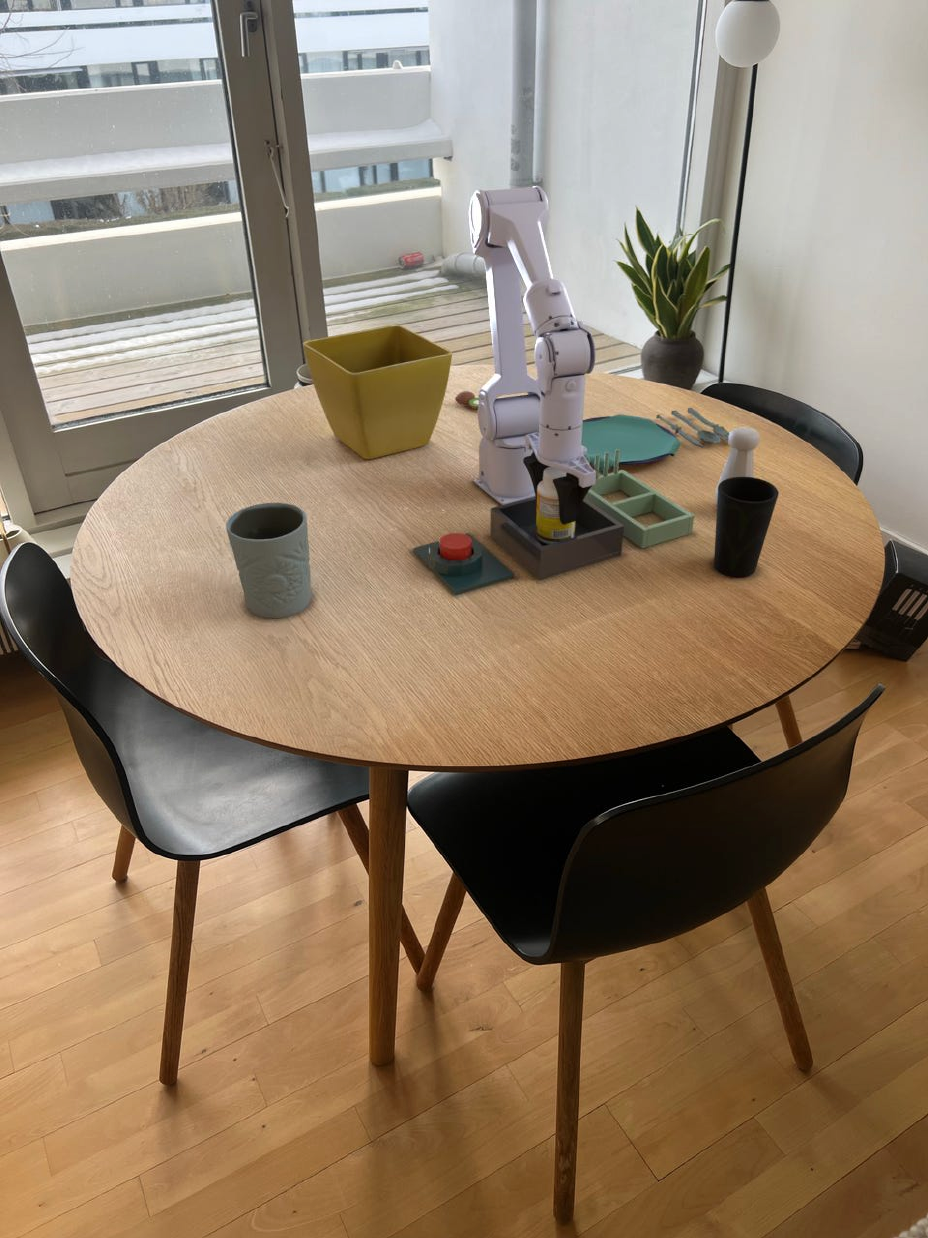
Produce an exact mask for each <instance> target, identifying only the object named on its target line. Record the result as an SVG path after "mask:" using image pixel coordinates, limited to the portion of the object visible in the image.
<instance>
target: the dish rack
mask: <svg viewBox="0 0 928 1238" xmlns="http://www.w3.org/2000/svg"><path fill="white" fill-rule="evenodd" d="M619 454H620V450H619V449H616V450H615V459H614V465H613V471H612V472H609V469H610V468H609V456H610V453H609V452H606V453H605V461H604V471H603V474H602V475H599V474H600V471H599V463H600V455H599V454H597V455H596V456H595V467H594V469H593V470H595V471H596V481H595V485H593V486H592V487H591V488H590V490H589V491H588V493H587V494H586V496H585V498H586V499H587V500H589V501H590V502H591V503H593V504H594V505H596V506H597V507H598V508H600V509H601V510H603V511H604V512H605V513H607V514H608V515H610V516H611V517H612V518H614V519H615V520H617V521H618V522H619V523H621V524H622V525H624V533H623V537H625V538H626V539H628V540H629V541H631V542H632V543H633V544H634V545H636V546H637V547H638V548H640V549H646V548H649V547H652V546H655V545H658V544H662V543H665V542H668V541H671V540H674V539H678V538H682V537H684V536H688V535H692V534H693V529H694V521H695V514H693V513H692V512H690V511H688V510H687V509H686V508H683V507H682V506H681V505H679V504H677V503H676V502H674V501H673V500H671V499H670V498H668V497H666V496H665V495H663V494H662V493H661V492H658V491H657V490H656V489H654V488H653V487H651V486H649V485H648V484H646V483H645V482H643V481H641V480H640V479H639V478H637V477H635V476H634V475H632V474H631V473H629V472H628V471H626V470H624V469H620V470H619V466H620V465H619ZM586 460H587V461H588V463H589V464H590V458H589V457H586ZM608 468H609V469H608ZM617 491H621V492H623V493H624V494H626V495H628V496H629V497H628V498H627V497H626V498H624V499H621V500H617V501H613V502H610V501H608V500H607V499H605V498H604V497H603V496H602V495H606V494H609V493H613V492H617ZM651 512H653V513H655V514H656V515H658V516H659V517H660V518H662V519H664V521H661V522H657V523H654V524H650V525H647V526H644V525H643V524H641V523H640V522H639V521H637V520H636V519H634V517H637V516H641V515H645V514H648V513H651Z"/></svg>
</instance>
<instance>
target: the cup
mask: <svg viewBox="0 0 928 1238" xmlns="http://www.w3.org/2000/svg"><path fill="white" fill-rule="evenodd" d="M779 494H780V493H779V490H778V488H777V487H776V486H775V485H774V484H773V483H771V482H769V481H767V480H765V479H761V478H758V477H754V478H753V477H732V478H728V479H726V480H724V481H722V482H721V483H720V484H719V486H718V499H717V505H716V519H715V520H716V521H715V537H714V538H715V539H714V554H713V555H714V556H713V567H714V570H715V571H716V572H717V573H719V574H720V575H723V576H725V577H728V578H732V579H745V578H748V577H752V576H753V575H754V574H755V573H756V569H757V566H758V563H759V559H760V556H761V553H762V550H763V547H764V543H765V541H766V537H767V534H768V531H769V527H770V523H771V521H772V517H773V513H774V511H775V507H776V504H777V501H778V498H779Z"/></svg>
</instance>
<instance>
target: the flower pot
mask: <svg viewBox="0 0 928 1238" xmlns="http://www.w3.org/2000/svg"><path fill="white" fill-rule="evenodd" d="M302 346H303V347H302V348H303V351H304V356H305V360H306V364H307V367H308V371H309V374H310V377H311V380H312V384H313V386H314V389H315V392H316V396H317V397H318V401H319V404H320V406H321V408H322V410H323V411H322V412H323V413H324V415H325V418H326V420H327V422H328V425H329V427H330V429H331V431H332V433H333V434H334V437H335V438H337V439H338V440H339V441H341V442H342V443H343V444H344V445H345V446H347V447H348V448H350V450H352V451H353V452H355V453H356V454H357V455H358V456H360V457H361V458H362V459H365V460H373V459H376V458H381V457H384V456H385V457H386V456H389V455H393V454H397V453H400V452H404V451H408V450H412V449H416V448H419V447H424V446H426V445H428V444H429V443H430V440H431V439H432V436H433V433H434V430H435V429H436V425H437V422H438V420H439V416H440V413H441V410H442V407H443V402H444V399H445V397H446V392H447V387H448V382H449V376H450V371H451V365H452V358H453V352H452V351H451V350H450V349H447V348H445V347H444V346H441V345H440V344H437V343H436V342H434V341H432V340H430V339H428V338H426V337H424V336H423V335H420V334H419V333H417V332H415V331H413V330H411V329H409V328H407V327H406V326H403V325H400V324H391V325H385V326H381V327H374V328H370V329H365V330H359V331H354V332H348V333H343V334H338V335H337V334H336V335H332V336H326V337H321V338H317V339H311V340H306V341H304V342H302Z"/></svg>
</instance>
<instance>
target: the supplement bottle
mask: <svg viewBox="0 0 928 1238" xmlns="http://www.w3.org/2000/svg"><path fill="white" fill-rule="evenodd" d="M566 473H567V472H564V471H561V470H558V469H555V468H553V467H548V468H546V469H545V470H544V473H543V480H542V481H541V482H540V483H539V484H538V487H537V514H536V535H537V537H538V539H539V540H541V541H542V542H544V543H547V544H552V543H556V542H559V541H563V540H566V539H570V538H573V537H574V535H575V522H571V523H568V524H562V523H561V521H560V516H559V500H558V495H557V491H556V488H555V486H554V484H553V479H556V478H560V477H564V476H565V477H566Z"/></svg>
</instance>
